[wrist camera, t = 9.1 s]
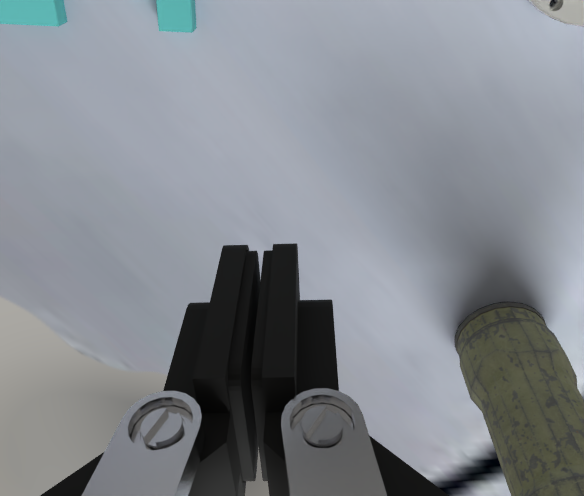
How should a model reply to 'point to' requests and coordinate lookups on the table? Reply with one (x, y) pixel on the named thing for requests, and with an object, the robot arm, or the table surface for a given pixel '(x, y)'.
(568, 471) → the thermos
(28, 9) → the alien figure
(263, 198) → the table surface
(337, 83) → the table surface
